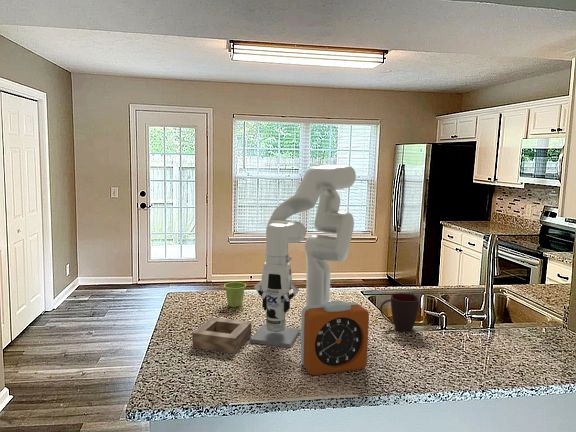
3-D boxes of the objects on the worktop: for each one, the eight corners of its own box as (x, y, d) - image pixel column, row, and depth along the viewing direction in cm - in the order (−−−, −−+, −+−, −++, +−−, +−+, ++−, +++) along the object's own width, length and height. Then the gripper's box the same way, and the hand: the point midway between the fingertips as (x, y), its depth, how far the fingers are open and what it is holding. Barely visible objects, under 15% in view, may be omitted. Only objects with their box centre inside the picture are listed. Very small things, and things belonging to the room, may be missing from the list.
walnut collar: (251, 335, 158) (251, 321, 158) (235, 353, 144) (235, 338, 143) (211, 330, 162) (211, 317, 162) (192, 347, 148) (192, 332, 147)
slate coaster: (299, 331, 163) (300, 328, 162) (289, 347, 149) (289, 344, 149) (262, 327, 166) (263, 324, 166) (249, 342, 153) (250, 338, 153)
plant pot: (220, 307, 187) (219, 287, 186) (229, 300, 196) (229, 281, 195) (240, 309, 184) (241, 289, 183) (249, 302, 193) (249, 283, 192)
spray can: (262, 329, 156) (263, 273, 153) (272, 323, 162) (273, 268, 159) (279, 333, 153) (280, 275, 150) (288, 326, 159) (289, 271, 156)
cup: (420, 334, 162) (422, 302, 161) (381, 333, 163) (383, 301, 161) (413, 324, 172) (415, 293, 170) (376, 323, 172) (378, 292, 171)
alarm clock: (309, 377, 130) (310, 308, 127) (299, 363, 138) (301, 298, 135) (367, 369, 135) (370, 303, 132) (355, 356, 143) (357, 294, 140)
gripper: (304, 259, 155) (302, 309, 158) (256, 255, 160) (255, 304, 162) (298, 264, 148) (297, 316, 151) (249, 260, 153) (248, 311, 155)
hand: (276, 309), depth 156 cm, fingers closed on spray can, 6 cm apart
